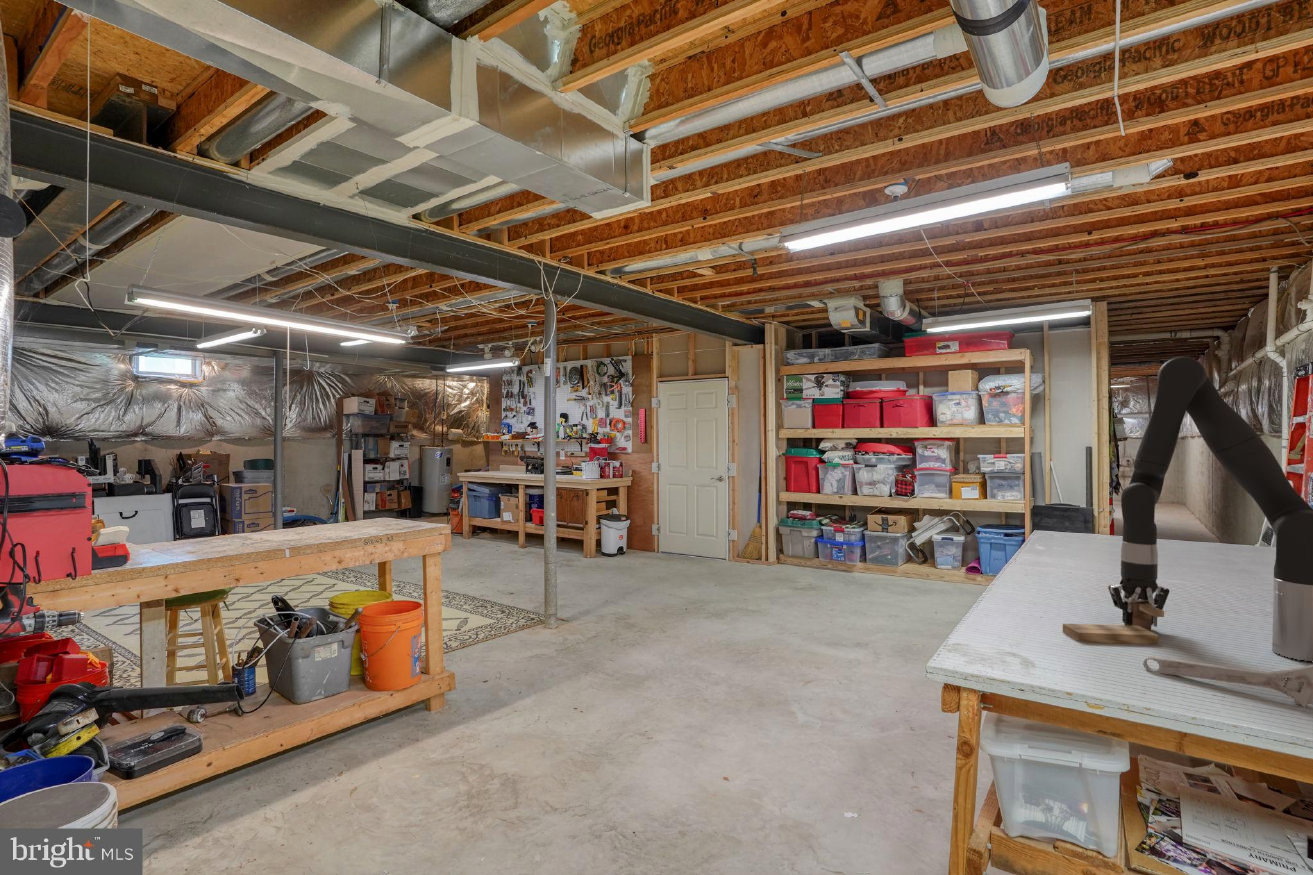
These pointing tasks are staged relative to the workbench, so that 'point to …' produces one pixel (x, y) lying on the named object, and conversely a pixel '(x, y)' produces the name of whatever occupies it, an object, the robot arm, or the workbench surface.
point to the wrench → (1244, 676)
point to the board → (1110, 633)
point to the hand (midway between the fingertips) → (1137, 625)
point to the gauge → (1145, 614)
